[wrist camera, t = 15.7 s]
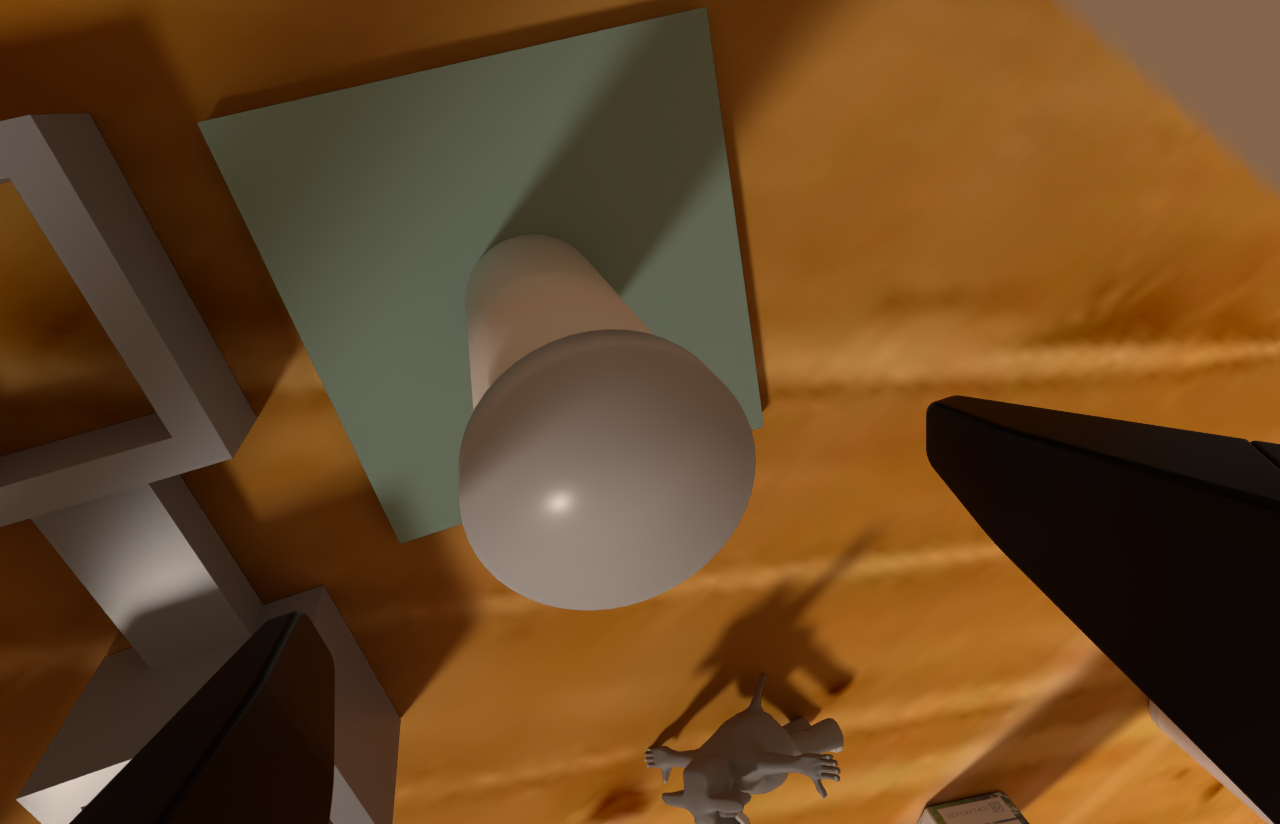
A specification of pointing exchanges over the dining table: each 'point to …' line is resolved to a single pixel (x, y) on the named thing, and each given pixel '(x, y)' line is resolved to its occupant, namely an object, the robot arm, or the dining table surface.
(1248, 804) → the eye dropper bottle
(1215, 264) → the dining table surface
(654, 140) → the green mat
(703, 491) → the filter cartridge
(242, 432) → the grey long framed piece
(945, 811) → the syrup box
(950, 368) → the dining table surface
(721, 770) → the grey limbed figure piece
